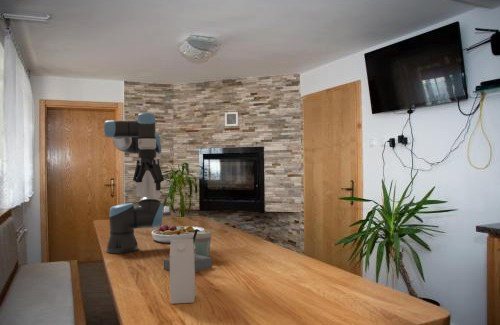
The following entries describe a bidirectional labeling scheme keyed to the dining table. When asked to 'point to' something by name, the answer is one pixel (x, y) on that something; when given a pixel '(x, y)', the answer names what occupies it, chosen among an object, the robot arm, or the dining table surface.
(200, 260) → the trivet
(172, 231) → the bowl
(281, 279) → the dining table surface
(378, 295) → the dining table surface
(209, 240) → the coffee cup
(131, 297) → the dining table surface
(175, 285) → the milk carton
